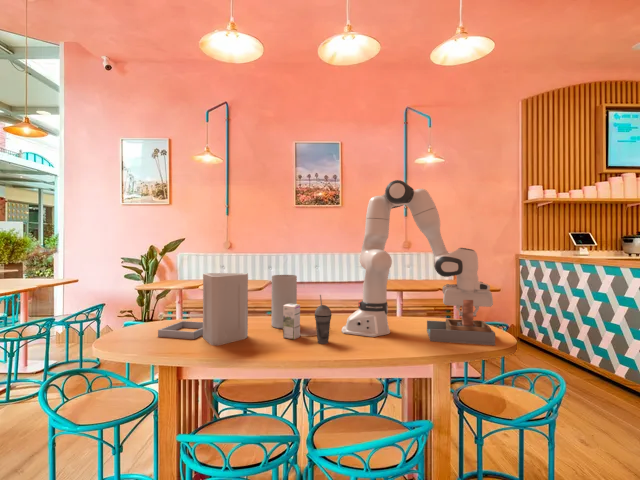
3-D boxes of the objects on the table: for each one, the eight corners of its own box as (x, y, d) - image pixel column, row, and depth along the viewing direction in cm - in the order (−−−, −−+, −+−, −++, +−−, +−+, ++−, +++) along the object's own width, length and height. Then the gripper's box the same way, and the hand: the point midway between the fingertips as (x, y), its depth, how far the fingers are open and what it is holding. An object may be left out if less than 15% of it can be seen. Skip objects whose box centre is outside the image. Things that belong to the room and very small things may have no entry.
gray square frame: (158, 336, 152) (158, 329, 152) (182, 326, 170) (182, 320, 170) (193, 339, 149) (193, 332, 149) (214, 329, 166) (214, 322, 166)
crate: (450, 338, 147) (450, 326, 147) (445, 330, 161) (445, 318, 161) (490, 341, 143) (490, 328, 143) (482, 332, 157) (482, 320, 157)
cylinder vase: (295, 329, 167) (295, 277, 167) (269, 328, 167) (269, 277, 167) (297, 322, 179) (297, 274, 179) (273, 322, 179) (273, 274, 179)
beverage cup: (330, 345, 141) (330, 296, 141) (312, 344, 142) (312, 295, 142) (332, 340, 148) (333, 293, 148) (316, 339, 149) (316, 293, 149)
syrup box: (300, 336, 154) (300, 303, 154) (294, 339, 148) (294, 306, 148) (289, 334, 156) (289, 302, 156) (282, 338, 151) (282, 305, 151)
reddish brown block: (463, 327, 151) (463, 299, 151) (461, 325, 154) (461, 298, 154) (473, 327, 150) (473, 300, 150) (471, 325, 154) (471, 298, 154)
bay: (430, 341, 147) (430, 329, 147) (426, 330, 164) (426, 320, 164) (495, 345, 141) (495, 333, 141) (484, 334, 158) (485, 323, 158)
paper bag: (192, 344, 141) (192, 276, 141) (206, 334, 156) (207, 272, 156) (237, 346, 139) (238, 276, 140) (248, 335, 154) (248, 273, 154)
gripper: (443, 284, 151) (443, 316, 151) (494, 286, 147) (494, 318, 147) (441, 283, 157) (441, 313, 157) (490, 284, 153) (490, 315, 153)
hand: (467, 315), depth 152 cm, fingers closed on reddish brown block, 4 cm apart
